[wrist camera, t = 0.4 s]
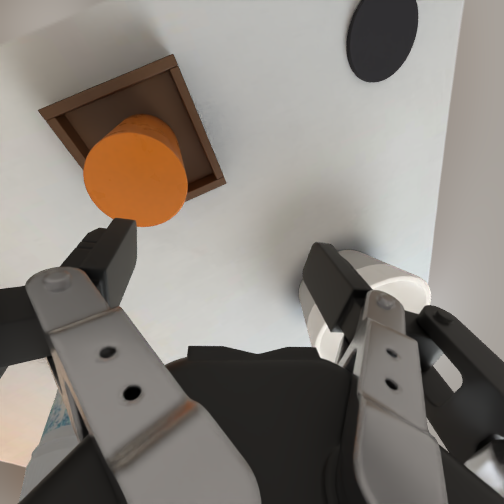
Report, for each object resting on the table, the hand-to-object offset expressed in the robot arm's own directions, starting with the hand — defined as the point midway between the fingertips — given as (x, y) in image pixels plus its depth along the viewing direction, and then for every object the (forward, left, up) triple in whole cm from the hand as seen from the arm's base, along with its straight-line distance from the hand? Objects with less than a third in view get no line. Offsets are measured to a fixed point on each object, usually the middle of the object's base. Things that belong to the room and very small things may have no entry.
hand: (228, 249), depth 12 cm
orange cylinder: (-1, -4, -19) cm, 20 cm away
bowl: (+23, +23, -20) cm, 38 cm away
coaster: (-11, +21, -20) cm, 31 cm away
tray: (-1, -4, -20) cm, 20 cm away
